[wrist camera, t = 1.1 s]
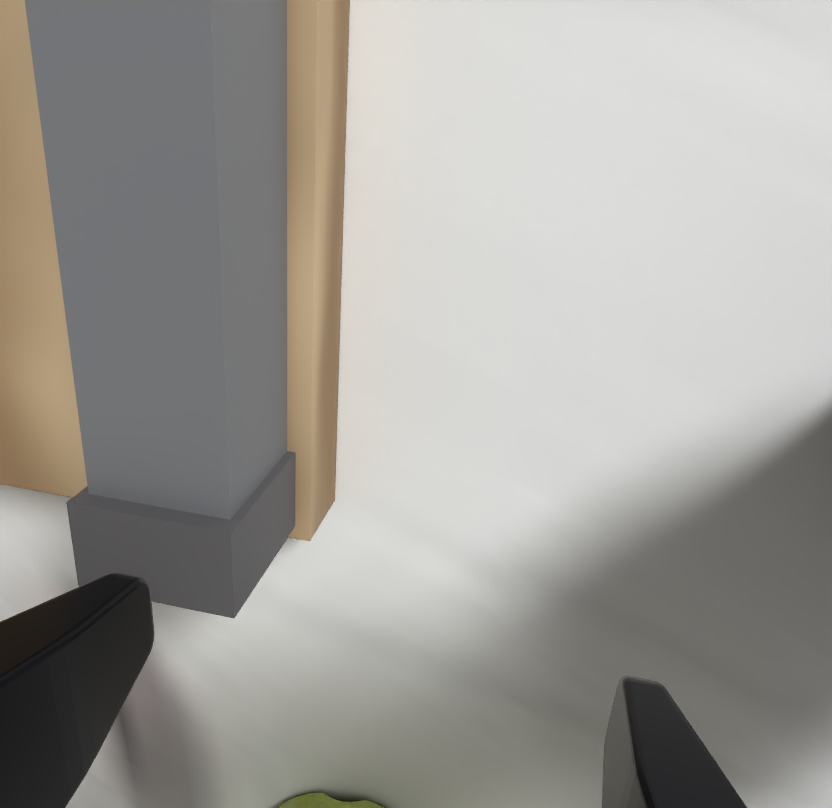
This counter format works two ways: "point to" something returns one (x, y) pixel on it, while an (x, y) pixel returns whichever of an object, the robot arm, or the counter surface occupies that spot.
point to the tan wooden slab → (306, 268)
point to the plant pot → (325, 802)
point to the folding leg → (173, 284)
